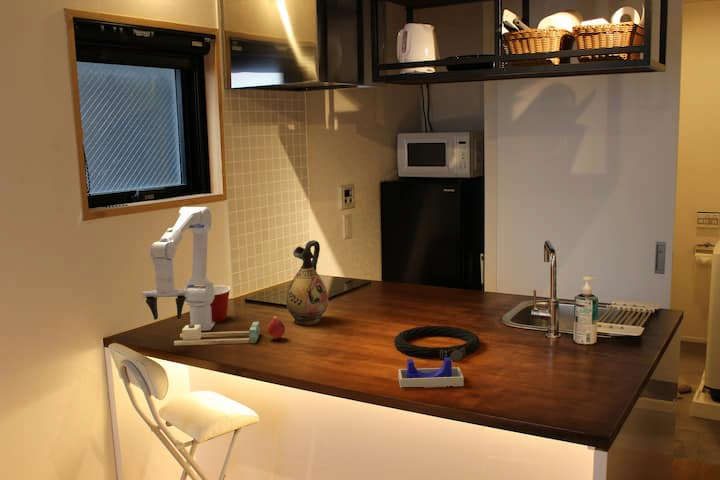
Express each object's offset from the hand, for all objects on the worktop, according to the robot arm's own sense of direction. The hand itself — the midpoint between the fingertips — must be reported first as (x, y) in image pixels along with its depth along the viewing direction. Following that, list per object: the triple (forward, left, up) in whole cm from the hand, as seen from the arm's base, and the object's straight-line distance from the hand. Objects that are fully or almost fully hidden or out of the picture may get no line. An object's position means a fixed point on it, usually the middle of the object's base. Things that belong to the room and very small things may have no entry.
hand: (167, 318), depth 235 cm
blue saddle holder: (+39, +82, -10) cm, 91 cm away
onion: (-5, +35, -10) cm, 37 cm away
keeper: (-7, +6, -10) cm, 13 cm away
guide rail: (-7, +15, -10) cm, 19 cm away
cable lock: (+9, +88, -10) cm, 89 cm away
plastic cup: (-33, +10, -10) cm, 36 cm away
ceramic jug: (-27, +45, -10) cm, 53 cm away
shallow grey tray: (+40, +82, -10) cm, 92 cm away
